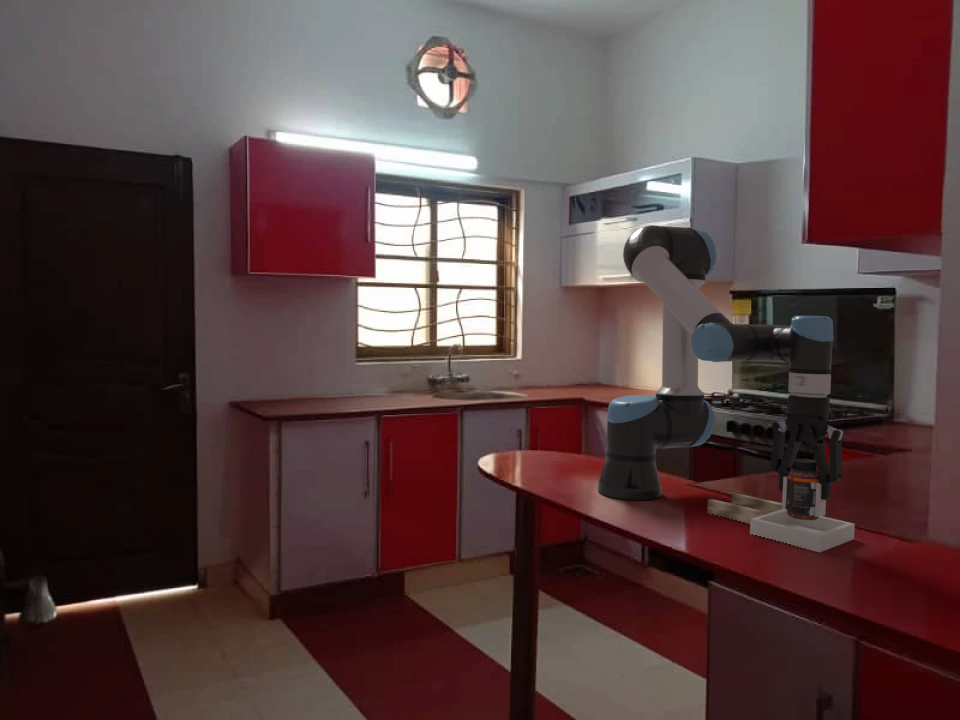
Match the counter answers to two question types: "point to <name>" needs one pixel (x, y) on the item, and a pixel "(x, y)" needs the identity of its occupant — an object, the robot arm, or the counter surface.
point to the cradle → (742, 507)
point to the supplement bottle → (802, 490)
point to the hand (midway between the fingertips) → (803, 511)
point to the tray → (803, 530)
